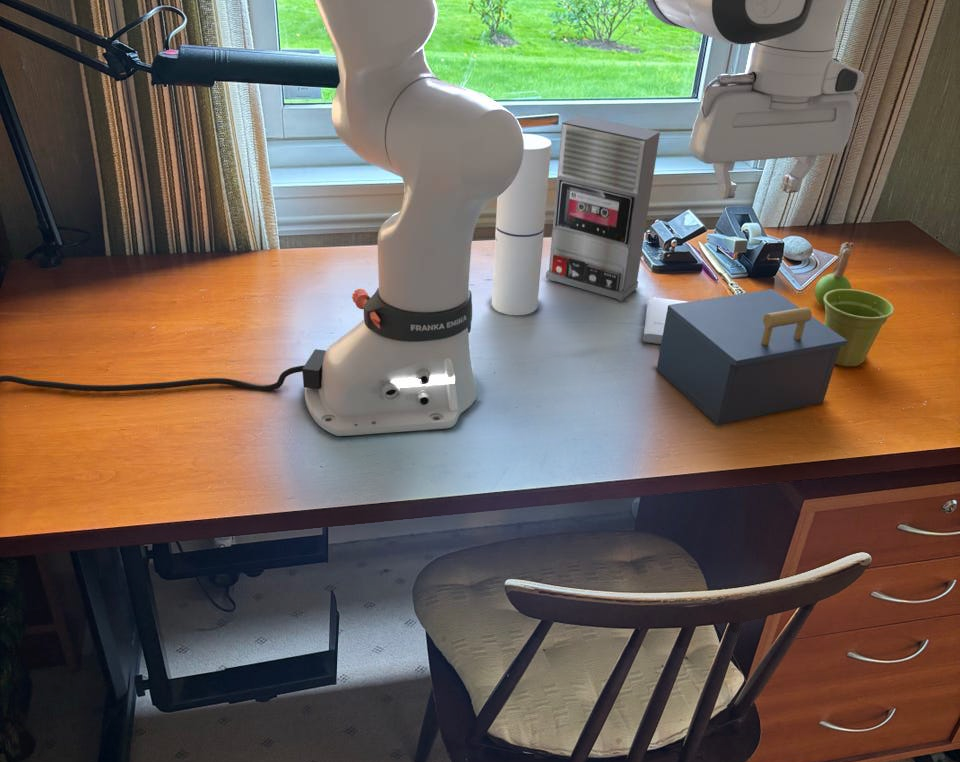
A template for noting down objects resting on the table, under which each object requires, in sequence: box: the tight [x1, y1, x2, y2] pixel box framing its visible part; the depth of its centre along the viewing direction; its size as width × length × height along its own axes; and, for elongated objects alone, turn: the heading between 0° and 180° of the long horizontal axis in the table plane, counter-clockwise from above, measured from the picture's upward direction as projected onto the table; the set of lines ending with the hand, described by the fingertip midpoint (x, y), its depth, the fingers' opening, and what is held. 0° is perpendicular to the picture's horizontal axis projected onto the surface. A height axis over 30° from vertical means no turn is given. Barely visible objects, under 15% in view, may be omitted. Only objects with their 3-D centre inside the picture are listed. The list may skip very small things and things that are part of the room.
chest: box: [656, 311, 840, 425], centre depth 123 cm, size 15×17×9 cm
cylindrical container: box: [491, 133, 552, 316], centre depth 135 cm, size 7×7×25 cm
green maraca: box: [814, 241, 855, 308], centre depth 143 cm, size 5×6×12 cm
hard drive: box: [642, 296, 689, 345], centre depth 138 cm, size 2×8×12 cm
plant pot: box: [823, 288, 895, 367], centre depth 130 cm, size 9×9×9 cm
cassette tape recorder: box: [545, 114, 661, 302], centre depth 142 cm, size 14×6×25 cm, turn 58°
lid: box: [667, 288, 847, 366], centre depth 118 cm, size 16×17×5 cm
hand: (757, 194), depth 110 cm, fingers open, 8 cm apart
